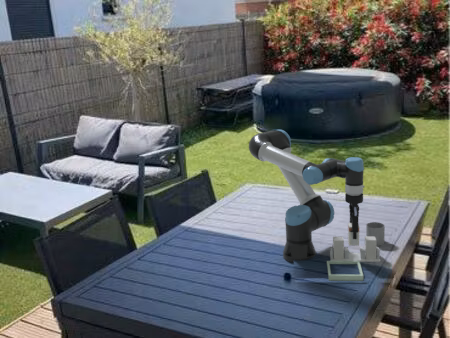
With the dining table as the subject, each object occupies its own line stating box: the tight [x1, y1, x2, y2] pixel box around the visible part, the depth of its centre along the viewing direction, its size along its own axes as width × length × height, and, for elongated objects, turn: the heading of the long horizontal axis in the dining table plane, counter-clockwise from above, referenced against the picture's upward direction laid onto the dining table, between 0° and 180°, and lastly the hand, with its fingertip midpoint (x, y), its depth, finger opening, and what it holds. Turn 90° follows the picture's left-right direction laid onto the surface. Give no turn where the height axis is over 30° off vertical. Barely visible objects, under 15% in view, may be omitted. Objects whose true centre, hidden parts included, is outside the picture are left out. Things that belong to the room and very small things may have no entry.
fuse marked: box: [347, 222, 360, 247], centre depth 220 cm, size 4×4×9 cm
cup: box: [365, 221, 386, 246], centre depth 236 cm, size 8×8×10 cm
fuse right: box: [364, 235, 377, 259], centre depth 220 cm, size 4×4×9 cm
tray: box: [326, 260, 364, 282], centre depth 211 cm, size 14×14×2 cm
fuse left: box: [332, 236, 345, 259], centre depth 222 cm, size 4×4×9 cm
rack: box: [329, 246, 381, 263], centre depth 222 cm, size 21×9×6 cm, turn 82°
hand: (353, 242), depth 221 cm, fingers closed on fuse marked, 4 cm apart
